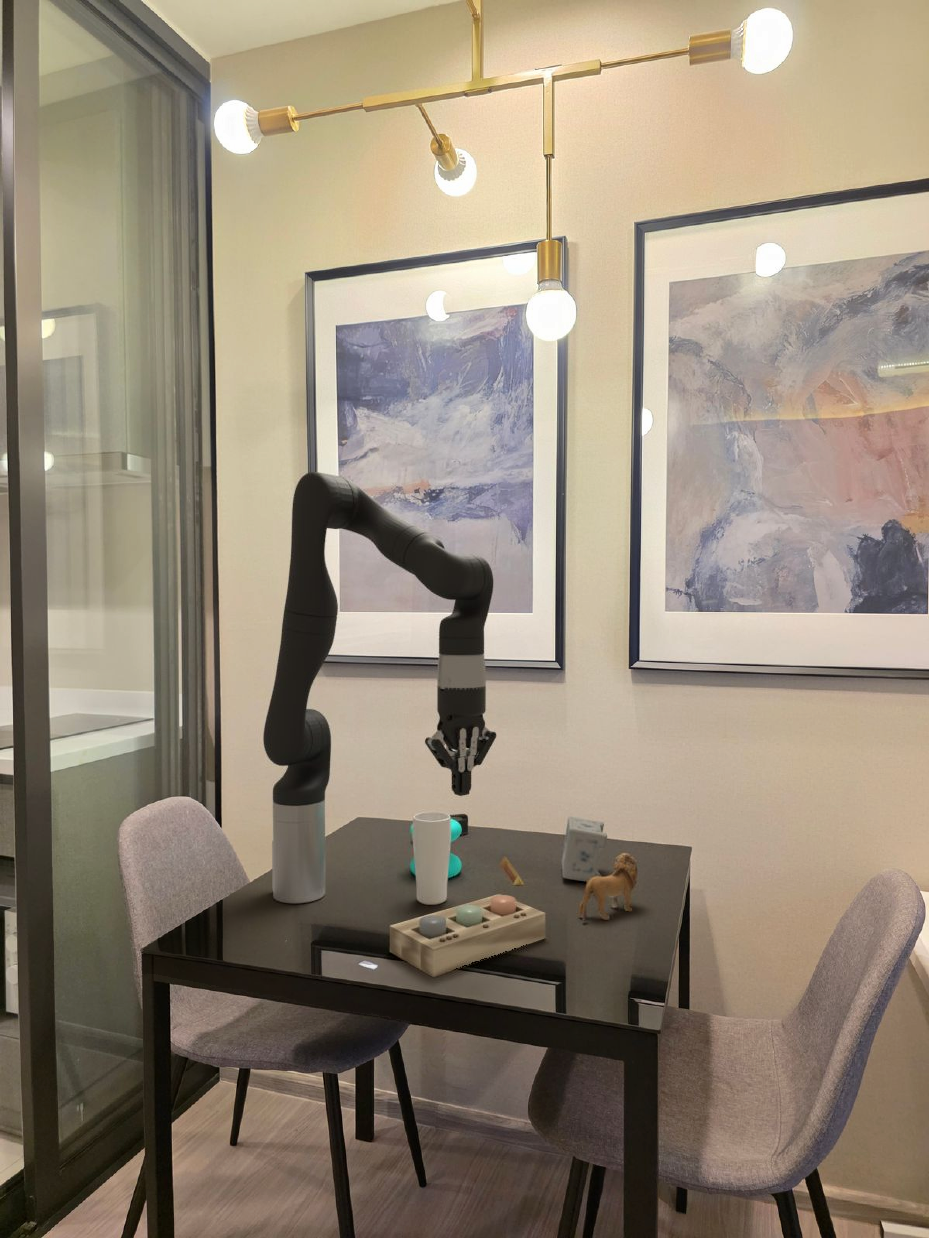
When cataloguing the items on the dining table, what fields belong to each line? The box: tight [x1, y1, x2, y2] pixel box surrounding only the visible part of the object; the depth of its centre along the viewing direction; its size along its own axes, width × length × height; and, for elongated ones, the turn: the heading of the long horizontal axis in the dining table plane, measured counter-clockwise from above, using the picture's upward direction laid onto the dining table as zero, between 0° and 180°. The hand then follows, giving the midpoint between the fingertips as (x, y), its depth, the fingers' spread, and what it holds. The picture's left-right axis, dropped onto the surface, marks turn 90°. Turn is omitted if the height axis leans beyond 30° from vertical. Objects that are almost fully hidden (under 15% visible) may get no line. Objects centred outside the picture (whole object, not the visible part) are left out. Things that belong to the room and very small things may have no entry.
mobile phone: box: [410, 813, 469, 845], centre depth 190 cm, size 5×3×15 cm
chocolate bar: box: [499, 856, 525, 886], centre depth 165 cm, size 3×12×2 cm, turn 10°
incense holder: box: [560, 816, 608, 883], centre depth 164 cm, size 10×8×10 cm
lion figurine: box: [578, 852, 639, 922], centre depth 145 cm, size 15×5×9 cm, turn 137°
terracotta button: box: [491, 894, 517, 917], centre depth 136 cm, size 4×4×3 cm
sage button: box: [456, 904, 482, 928], centre depth 131 cm, size 4×4×3 cm
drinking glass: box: [412, 811, 452, 906], centre depth 151 cm, size 7×7×15 cm
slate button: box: [419, 915, 446, 939], centre depth 127 cm, size 4×4×3 cm
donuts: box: [409, 819, 463, 879], centre depth 166 cm, size 10×10×10 cm
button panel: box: [389, 893, 546, 978], centre depth 131 cm, size 11×22×4 cm, turn 129°
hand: (461, 794), depth 132 cm, fingers closed
